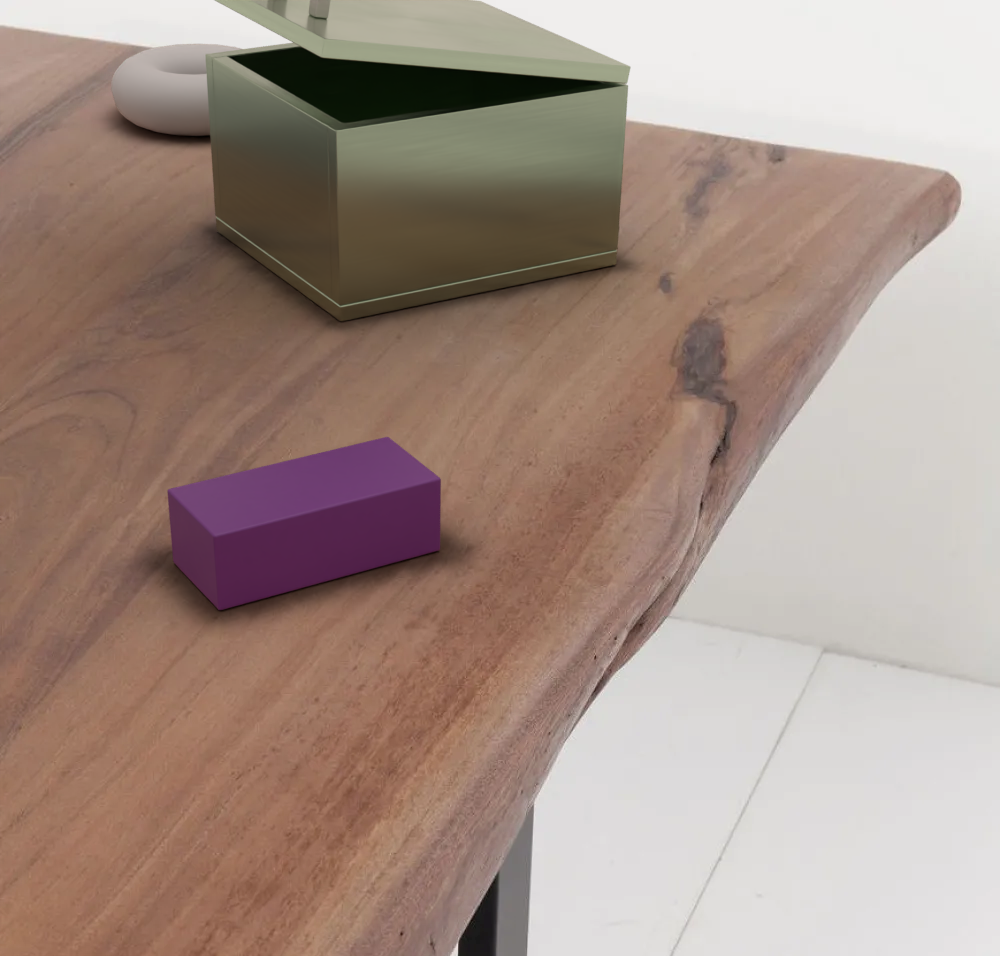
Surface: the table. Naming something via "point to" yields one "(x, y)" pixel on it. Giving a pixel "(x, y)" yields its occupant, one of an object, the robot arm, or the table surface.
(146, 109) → the donut
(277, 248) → the green metal box
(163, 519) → the table surface
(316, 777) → the table surface
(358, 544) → the purple rectangular block
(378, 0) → the green box lid
